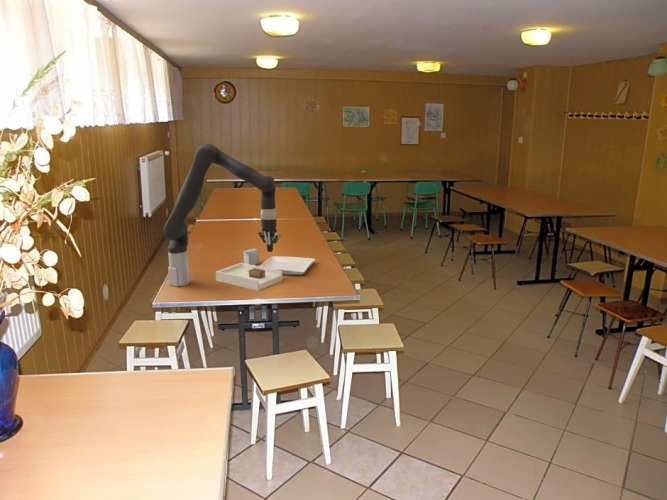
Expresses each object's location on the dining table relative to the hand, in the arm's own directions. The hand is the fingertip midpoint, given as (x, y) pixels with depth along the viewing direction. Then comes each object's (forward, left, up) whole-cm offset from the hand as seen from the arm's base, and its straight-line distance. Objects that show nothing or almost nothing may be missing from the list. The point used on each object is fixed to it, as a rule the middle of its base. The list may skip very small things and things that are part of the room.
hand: (270, 251), depth 259 cm
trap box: (0, +15, -18) cm, 23 cm away
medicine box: (+22, +34, -18) cm, 44 cm away
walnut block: (0, +10, -15) cm, 18 cm away
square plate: (+27, +12, -18) cm, 35 cm away
